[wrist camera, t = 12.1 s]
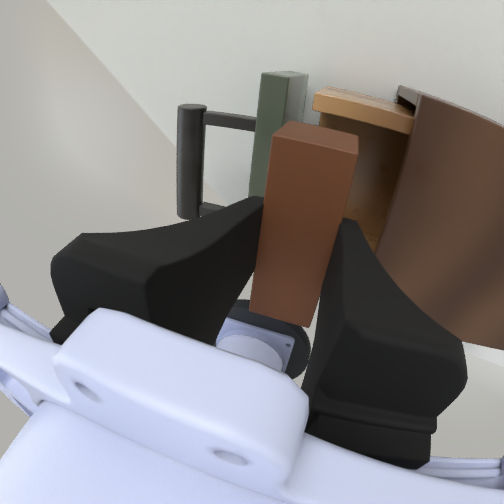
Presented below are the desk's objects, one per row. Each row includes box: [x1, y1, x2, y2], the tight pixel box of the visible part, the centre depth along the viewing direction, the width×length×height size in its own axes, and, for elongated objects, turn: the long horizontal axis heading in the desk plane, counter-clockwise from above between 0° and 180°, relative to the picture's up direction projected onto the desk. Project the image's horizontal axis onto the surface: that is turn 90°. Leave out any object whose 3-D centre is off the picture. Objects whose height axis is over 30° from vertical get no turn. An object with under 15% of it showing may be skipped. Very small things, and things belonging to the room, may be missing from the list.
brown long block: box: [249, 121, 359, 328], centre depth 11 cm, size 7×2×2 cm, turn 174°
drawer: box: [177, 71, 416, 252], centre depth 16 cm, size 14×10×6 cm
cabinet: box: [374, 85, 504, 350], centre depth 15 cm, size 11×11×7 cm
